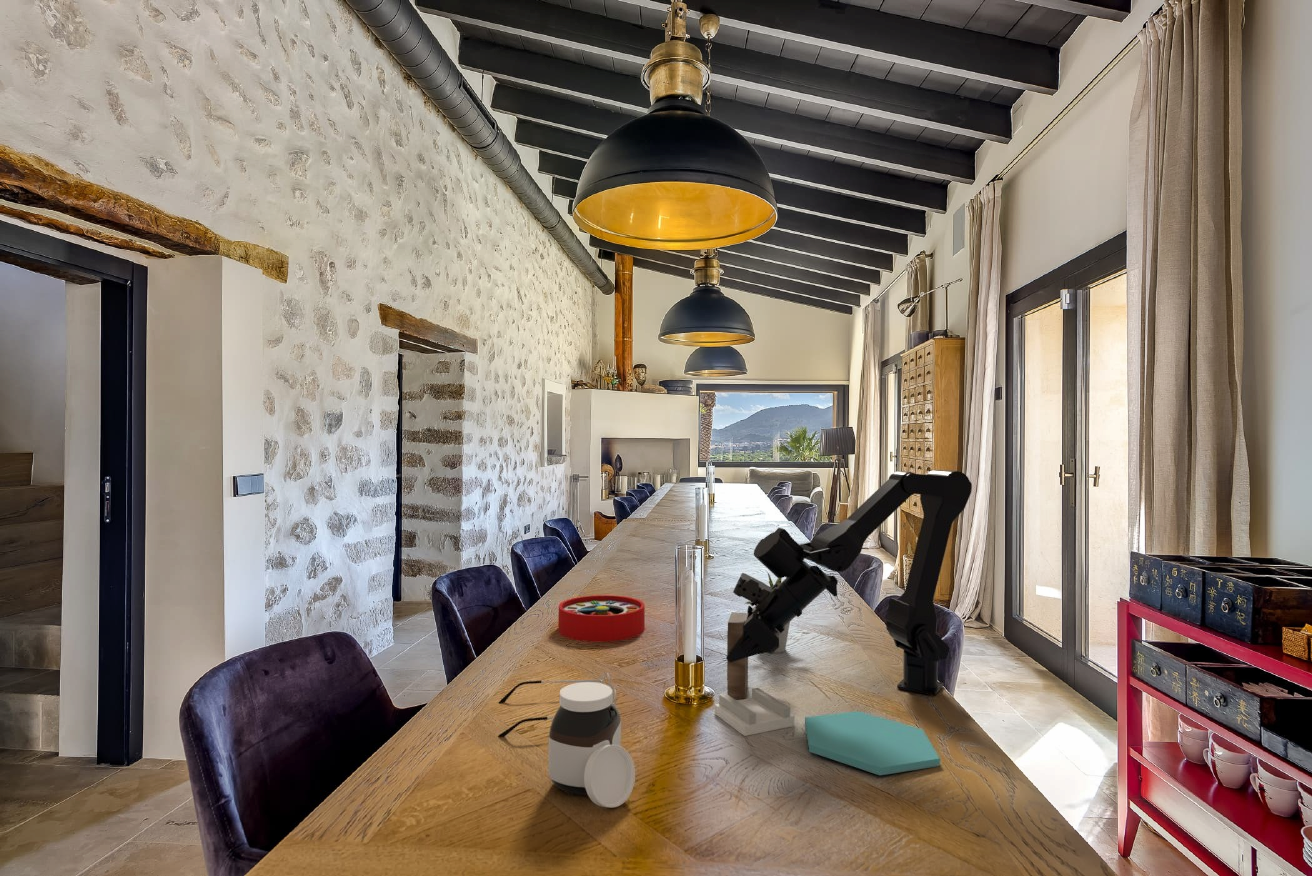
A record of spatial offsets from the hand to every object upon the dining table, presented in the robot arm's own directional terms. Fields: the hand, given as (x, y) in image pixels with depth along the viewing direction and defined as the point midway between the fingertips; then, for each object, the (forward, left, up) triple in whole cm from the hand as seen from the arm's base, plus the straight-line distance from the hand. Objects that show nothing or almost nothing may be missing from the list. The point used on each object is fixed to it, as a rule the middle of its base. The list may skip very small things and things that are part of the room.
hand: (730, 653), depth 120 cm
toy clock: (-17, -44, -7) cm, 47 cm away
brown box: (-1, +1, -7) cm, 7 cm away
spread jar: (+39, +3, -7) cm, 40 cm away
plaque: (+7, +27, -7) cm, 28 cm away
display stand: (+9, +9, -7) cm, 14 cm away
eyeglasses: (+25, -17, -7) cm, 31 cm away
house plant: (-26, -3, -7) cm, 27 cm away
